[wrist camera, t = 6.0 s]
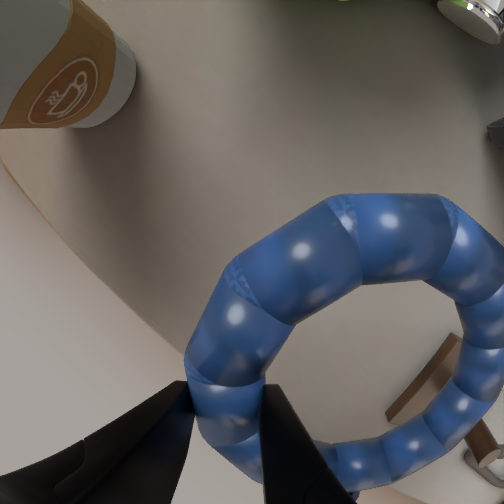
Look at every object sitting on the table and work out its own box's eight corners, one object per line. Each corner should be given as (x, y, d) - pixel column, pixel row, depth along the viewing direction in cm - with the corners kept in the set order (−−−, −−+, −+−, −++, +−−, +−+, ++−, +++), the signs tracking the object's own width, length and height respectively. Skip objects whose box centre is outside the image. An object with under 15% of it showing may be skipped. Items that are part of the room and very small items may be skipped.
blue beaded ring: (219, 468, 10) (213, 507, 8) (175, 200, 8) (146, 209, 6) (454, 436, 9) (471, 466, 7) (511, 195, 7) (553, 202, 5)
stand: (444, 431, 20) (473, 495, 12) (384, 412, 20) (411, 493, 12) (501, 363, 18) (550, 419, 10) (450, 331, 18) (509, 400, 10)
